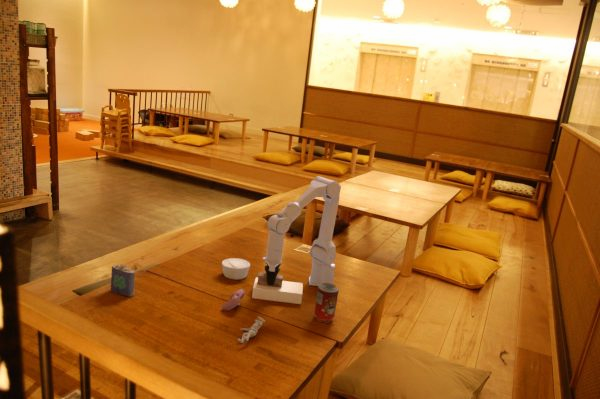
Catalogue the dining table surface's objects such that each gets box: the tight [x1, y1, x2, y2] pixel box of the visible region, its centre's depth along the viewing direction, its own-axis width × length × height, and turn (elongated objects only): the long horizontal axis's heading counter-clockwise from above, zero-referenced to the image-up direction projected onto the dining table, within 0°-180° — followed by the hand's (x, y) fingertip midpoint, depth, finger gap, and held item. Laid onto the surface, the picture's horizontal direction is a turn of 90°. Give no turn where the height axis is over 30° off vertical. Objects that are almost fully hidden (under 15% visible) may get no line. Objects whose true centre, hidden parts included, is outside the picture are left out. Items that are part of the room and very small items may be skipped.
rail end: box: [257, 272, 284, 288], centre depth 176 cm, size 9×3×6 cm, turn 89°
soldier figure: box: [237, 316, 266, 344], centre depth 147 cm, size 8×5×12 cm
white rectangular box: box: [251, 276, 304, 305], centre depth 177 cm, size 18×10×4 cm, turn 89°
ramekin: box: [221, 257, 251, 281], centre depth 190 cm, size 11×11×5 cm
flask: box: [109, 263, 136, 298], centre depth 161 cm, size 9×3×11 cm, turn 68°
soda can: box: [314, 283, 340, 324], centre depth 163 cm, size 7×7×12 cm
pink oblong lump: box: [221, 288, 247, 311], centre depth 164 cm, size 10×5×7 cm, turn 169°
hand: (270, 282), depth 176 cm, fingers open, 4 cm apart
